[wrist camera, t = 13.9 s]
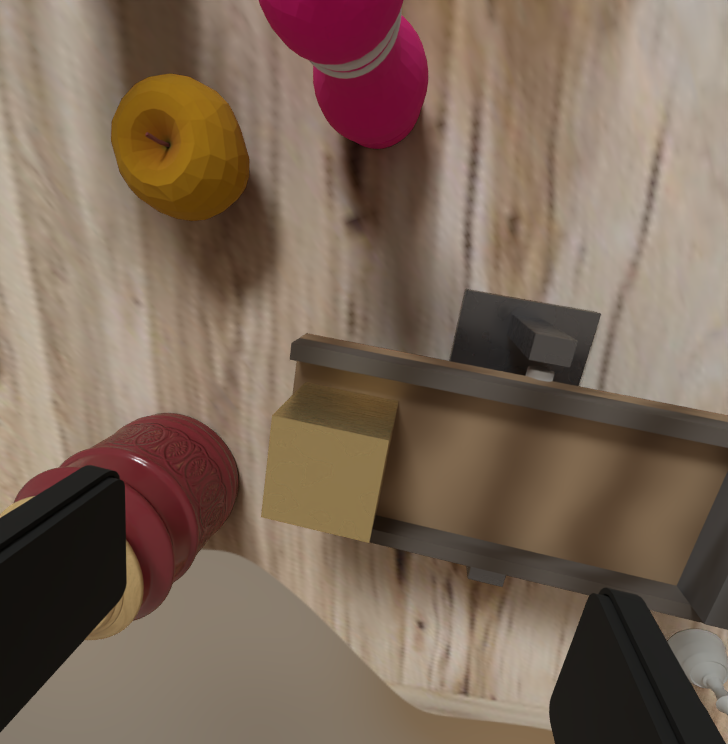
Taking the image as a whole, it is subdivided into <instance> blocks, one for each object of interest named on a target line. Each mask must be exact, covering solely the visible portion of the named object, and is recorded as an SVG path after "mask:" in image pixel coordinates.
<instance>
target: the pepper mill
mask: <svg viewBox="0 0 728 744" xmlns="http://www.w3.org/2000/svg"><path fill="white" fill-rule="evenodd" d="M259 3H260V6H261V8H262V10H263V12H264V14H265V16H266V18H267V20H268V22H269V24H270V26H271V27H272V29H273V30H274V31H275V32H276V34H277V35H278V36H279V37H280V38H281V40H282V41H283V42H284V43H285V44H286V45H287V46H288V47H289V48H290V49H291V50H292V51H294V52H295V53H297V54H298V55H299V56H301V57H303V58H305V59H308V60H309V61H310V62H311V63H312V64H313V84H314V89H315V95H316V98H317V101H318V104H319V106H320V108H321V110H322V112H323V114H324V116H325V118H326V119H327V121H328V122H329V124H330V125H331V126H332V127H333V128H334V129H335V130H336V131H337V132H338V133H340V134H341V135H342V136H344V137H346V138H348V139H350V140H352V141H355V142H356V143H358V144H360V145H362V146H364V147H367V148H372V149H381V148H386V147H390V146H392V145H394V144H396V143H398V142H400V141H401V140H402V139H404V138H405V137H406V136H407V135H408V134H409V133H410V131H411V130H412V129H413V127H414V125H415V124H416V122H417V119H418V117H419V114H420V111H421V107H422V105H423V102H424V99H425V96H426V92H427V86H428V66H427V59H426V56H425V52H424V49H423V45H422V42H421V40H420V38H419V36H418V34H417V33H416V31H415V30H414V28H413V27H412V25H411V24H410V23H409V22H408V21H407V20H406V19H405V18H404V17H403V16H402V15H401V7H402V3H403V0H259Z"/></svg>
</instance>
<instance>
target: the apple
mask: <svg viewBox="0 0 728 744" xmlns="http://www.w3.org/2000/svg"><path fill="white" fill-rule="evenodd" d="M111 142H112V146H113V149H114V153H115V156H116V160H117V164H118V167H119V171H120V173H121V175H122V177H123V178H124V180H125V181H126V183H127V185H128V186H129V188H130V189H131V190H132V191H133V192H134V193H135V194H136V195H137V196H138V197H139V198H140V199H141V200H143V201H144V202H146V203H147V204H149V205H150V206H151V207H153V208H154V209H156V210H157V211H159V212H161V213H163V214H166V215H169V216H171V217H174V218H177V219H183V220H189V221H197V220H206V219H208V218H211V217H213V216H215V215H217V214H220V213H222V212H223V211H225V210H226V209H227V208H228V207H229V206H231V205H232V204H233V203H234V202H235V201H236V200H237V199H238V198H239V197H240V195H241V194H242V193H243V191H244V190H245V188H246V185H247V181H248V178H249V156H248V152H247V149H246V146H245V142H244V139H243V136H242V132H241V129H240V127H239V124H238V122H237V120H236V118H235V115H234V113H233V111H232V109H231V108H230V106H229V104H228V103H227V102H226V101H225V100H224V99H223V98H222V97H221V96H220V95H219V94H218V93H217V92H216V91H215V90H213V89H211V88H209V87H207V86H205V85H204V84H202V83H200V82H198V81H196V80H194V79H193V78H191V77H187V76H182V75H176V74H164V75H158V76H152V77H148V78H146V79H144V80H142V81H140V82H138V83H136V84H135V85H134V86H133V87H132V88H131V89H130V90H129V91H128V92H127V94H126V95H125V96H124V97H123V98H122V99H121V102H120V104H119V106H118V108H117V111H116V113H115V115H114V117H113V120H112V130H111Z"/></svg>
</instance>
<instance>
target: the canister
mask: <svg viewBox="0 0 728 744" xmlns="http://www.w3.org/2000/svg"><path fill="white" fill-rule="evenodd" d="M86 465H93V466H97V467H101V468H105V469H109V470H114V471H116V472H118V474H119V476H120V480H122V481H123V482H124V483H125V510H126V569H127V584H126V589H125V592H124V594H123V596H122V598H121V599H120V601H119V602H118V603H117V605H116V606H115V607H114V608H113V609H112V610H111V611H110V612H109V613H108V614H107V616H106V617H105V618H104V619H103V620H102V621H101V622H100V623H99V624H98V625H97V627H96V628H95V629H94V630H93V631H92V632H91V633H90V634H89V635H88V636H87V638H86V639H85V640H98V639H104V638H107V637H110V636H113V635H115V634H117V633H119V632H121V631H122V630H124V629H125V628H126V627H127V626H128V625H129V624H130V623H131V622H132V621H134V620H137V619H140V618H142V617H145V616H146V615H148V614H150V613H151V612H153V611H154V610H155V609H157V608H158V607H159V606H160V605H161V604H162V602H163V601H164V600H165V598H166V597H167V595H168V593H169V591H170V589H171V587H172V584H173V583H174V582H175V581H176V580H178V579H179V578H180V577H181V576H183V575H184V573H185V572H186V571H187V570H188V569H189V567H190V566H191V564H192V562H193V561H194V559H195V556H196V555H197V553H198V552H199V551H200V550H201V548H202V547H203V546H204V545H205V543H206V542H207V541H208V540H209V538H210V537H211V536H212V535H213V534H214V533H215V532H217V531H218V530H219V529H220V527H221V526H222V525H223V523H224V522H225V521H226V520H227V518H228V516H229V515H230V513H231V511H232V508H233V506H234V503H235V500H236V498H237V494H238V488H239V477H238V471H237V466H236V463H235V461H234V458H233V456H232V454H231V452H230V450H229V449H228V447H227V446H226V444H225V443H224V442H223V440H222V439H221V438H220V437H219V436H218V435H217V434H216V433H215V432H214V431H213V430H212V429H210V428H209V427H208V426H206V425H205V424H203V423H201V422H199V421H198V420H195V419H193V418H191V417H188V416H185V415H181V414H175V413H160V414H155V415H151V416H146V417H142V418H139V419H137V420H135V421H133V422H131V423H129V424H127V425H125V426H124V427H122V428H121V429H119V430H118V431H117V432H116V433H115V434H114V435H112V436H110V437H108V438H107V439H105V440H103V441H101V442H100V443H98V444H96V445H94V446H93V447H91V448H89V449H86V450H83V451H80V452H78V453H76V454H74V455H73V456H71V457H69V458H68V459H67V460H66V461H64V462H63V463H62V464H61V466H60V467H59V468H54V469H50V470H47V471H45V472H42V473H40V474H38V475H37V476H35V477H33V478H32V479H31V480H29V481H28V482H27V483H26V484H25V485H24V486H23V488H22V489H21V490H20V491H19V493H18V495H17V496H16V498H15V501H14V503H13V504H12V505H10V506H9V507H8V508H6V509H5V510H4V511H3V512H2V513H1V514H0V518H1V517H2V516H4V515H6V514H7V513H9V512H10V511H12V510H14V509H15V508H17V507H19V506H20V505H22V504H23V503H25V502H27V501H28V500H30V499H31V498H33V497H35V496H36V495H38V494H40V493H41V492H43V491H44V490H46V489H48V488H49V487H51V486H53V485H54V484H56V483H57V482H59V481H61V480H62V479H64V478H66V477H67V476H69V475H70V474H72V473H74V472H75V471H77V470H79V469H80V468H82V467H84V466H86Z"/></svg>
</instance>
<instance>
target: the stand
mask: <svg viewBox="0 0 728 744" xmlns="http://www.w3.org/2000/svg"><path fill="white" fill-rule="evenodd" d="M600 316H601V314H600V313H597V312H593V311H587V310H582V309H576V308H570V307H565V306H559V305H553V304H548V303H542V302H537V301H531V300H525V299H520V298H514V297H508V296H503V295H497V294H491V293H486V292H480V291H474V290H469V289H465V292H464V296H463V301H462V305H461V310H460V314H459V319H458V323H457V327H456V332H455V336H454V341H453V345H452V350H451V354H450V358H449V361H451V362H456V363H461V364H467V365H472V366H477V367H482V368H487V369H492V370H497V371H503V372H508V373H513V374H518V375H523V376H526V372H527V368H528V366H539V367H543V368H547V369H550V370H552V371H554V372H555V374H554V377H553V381H554V382H559V383H564V384H569V385H574V386H578V385H579V382H580V379H581V376H582V373H583V369H584V366H585V363H586V360H587V357H588V354H589V350H590V347H591V344H592V341H593V338H594V335H595V332H596V328H597V325H598V322H599V319H600ZM466 567H467V576H468V579H472V580H476V581H480V582H484V583H488V584H492V585H497V586H501V587H502V586H503V583H504V580H505V577H506V575H503V574H499V573H495V572H491V571H486V570H482V569H478V568H474V567H470V566H466Z"/></svg>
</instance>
